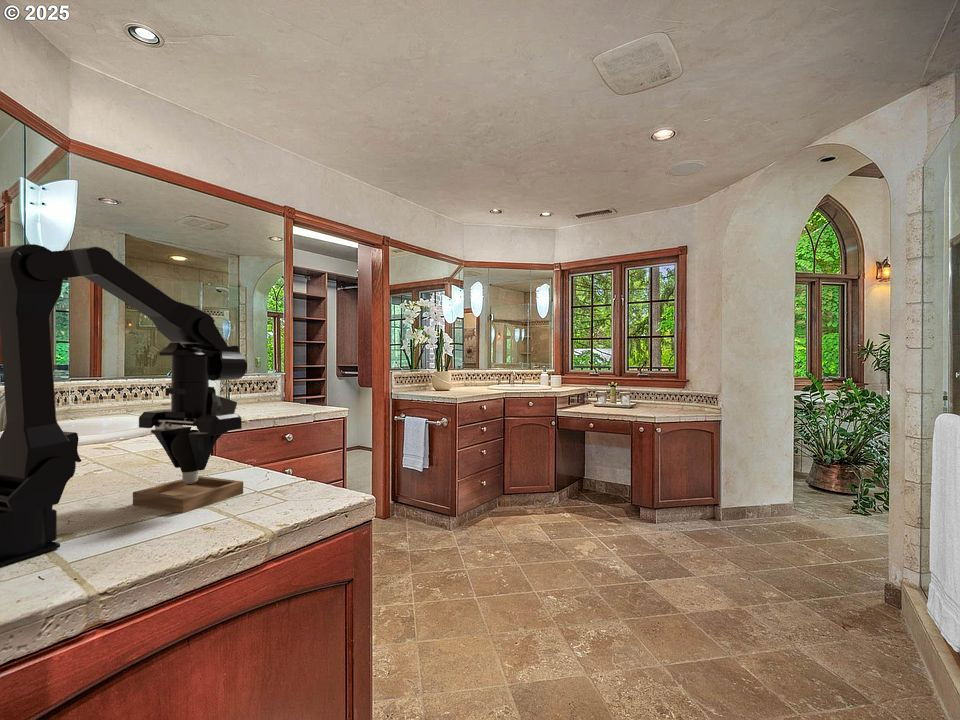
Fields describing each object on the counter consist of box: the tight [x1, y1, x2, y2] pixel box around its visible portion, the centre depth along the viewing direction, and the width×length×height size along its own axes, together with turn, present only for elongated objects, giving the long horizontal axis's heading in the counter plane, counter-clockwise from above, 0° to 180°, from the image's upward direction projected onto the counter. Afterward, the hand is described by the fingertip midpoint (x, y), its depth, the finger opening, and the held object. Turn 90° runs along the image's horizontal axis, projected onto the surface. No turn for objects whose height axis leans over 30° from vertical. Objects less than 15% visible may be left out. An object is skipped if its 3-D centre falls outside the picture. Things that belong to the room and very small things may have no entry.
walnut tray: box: [132, 475, 244, 514], centre depth 84 cm, size 12×12×2 cm
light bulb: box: [171, 429, 199, 486], centre depth 84 cm, size 6×6×10 cm
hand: (189, 468), depth 84 cm, fingers closed on light bulb, 5 cm apart
